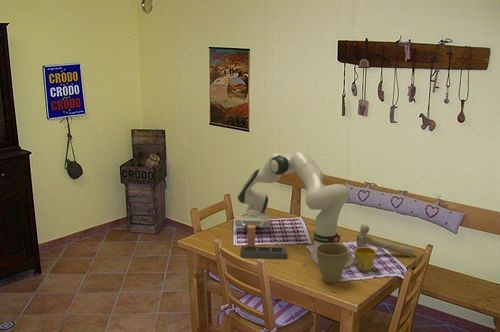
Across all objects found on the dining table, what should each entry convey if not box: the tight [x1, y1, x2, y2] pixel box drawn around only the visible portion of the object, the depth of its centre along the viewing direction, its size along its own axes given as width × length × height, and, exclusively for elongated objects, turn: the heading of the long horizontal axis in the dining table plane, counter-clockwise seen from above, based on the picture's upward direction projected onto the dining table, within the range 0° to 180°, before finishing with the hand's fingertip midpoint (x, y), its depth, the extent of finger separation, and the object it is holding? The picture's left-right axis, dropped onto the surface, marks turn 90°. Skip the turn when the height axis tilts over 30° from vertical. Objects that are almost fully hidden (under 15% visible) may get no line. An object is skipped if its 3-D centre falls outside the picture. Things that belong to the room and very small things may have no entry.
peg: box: [246, 225, 256, 247], centre depth 295 cm, size 4×4×12 cm
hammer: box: [355, 223, 415, 258], centre depth 287 cm, size 16×5×30 cm
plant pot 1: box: [316, 243, 349, 284], centre depth 258 cm, size 15×15×16 cm
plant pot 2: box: [354, 246, 377, 272], centre depth 271 cm, size 10×10×10 cm
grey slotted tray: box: [240, 245, 288, 260], centre depth 286 cm, size 24×8×3 cm, turn 88°
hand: (251, 226), depth 307 cm, fingers open, 8 cm apart
